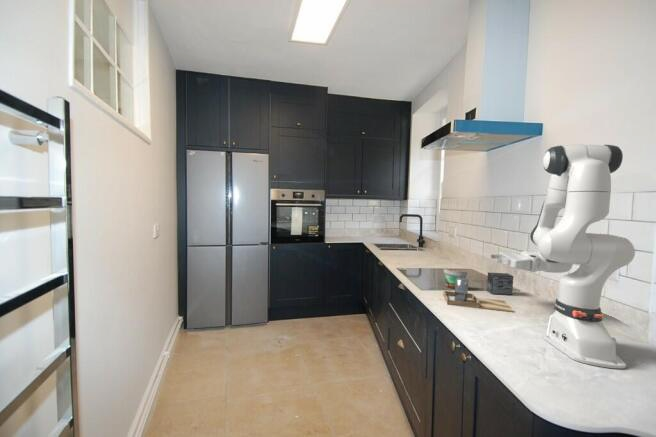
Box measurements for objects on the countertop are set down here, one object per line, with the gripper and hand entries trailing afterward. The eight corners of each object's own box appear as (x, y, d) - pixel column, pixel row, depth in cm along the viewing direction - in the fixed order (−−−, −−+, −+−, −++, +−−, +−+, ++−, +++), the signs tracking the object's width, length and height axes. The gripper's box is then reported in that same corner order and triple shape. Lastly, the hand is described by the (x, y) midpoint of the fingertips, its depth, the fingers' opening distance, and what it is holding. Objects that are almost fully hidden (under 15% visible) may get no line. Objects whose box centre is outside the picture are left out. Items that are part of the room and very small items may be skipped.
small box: (506, 291, 155) (507, 272, 154) (512, 295, 148) (514, 276, 148) (485, 290, 156) (487, 271, 155) (491, 294, 150) (493, 274, 149)
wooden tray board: (515, 312, 126) (515, 307, 125) (447, 304, 133) (447, 300, 132) (504, 301, 139) (504, 297, 139) (443, 294, 146) (443, 290, 146)
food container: (443, 288, 157) (444, 270, 156) (442, 285, 163) (443, 268, 162) (467, 291, 153) (469, 273, 152) (466, 288, 159) (467, 270, 158)
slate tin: (468, 304, 134) (469, 281, 133) (455, 302, 136) (457, 280, 135) (465, 300, 140) (467, 278, 139) (453, 298, 141) (455, 277, 140)
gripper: (519, 249, 139) (488, 247, 143) (538, 258, 119) (502, 256, 123) (518, 262, 140) (487, 260, 143) (537, 273, 120) (500, 270, 123)
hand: (494, 258), depth 133 cm, fingers open, 8 cm apart
